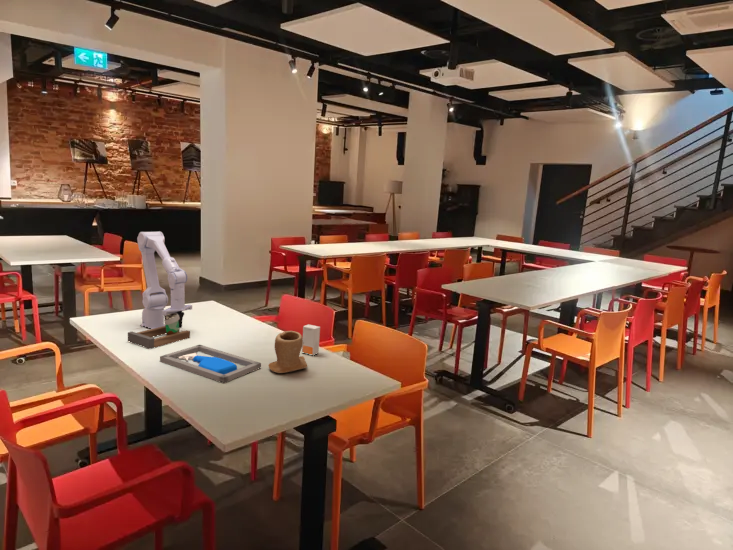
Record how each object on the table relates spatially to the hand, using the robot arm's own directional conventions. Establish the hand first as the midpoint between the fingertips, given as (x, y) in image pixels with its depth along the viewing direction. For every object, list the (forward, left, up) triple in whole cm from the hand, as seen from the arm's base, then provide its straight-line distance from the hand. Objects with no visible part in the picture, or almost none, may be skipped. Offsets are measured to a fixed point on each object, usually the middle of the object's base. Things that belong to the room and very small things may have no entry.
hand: (177, 327), depth 216 cm
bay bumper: (0, -18, -3) cm, 19 cm away
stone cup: (+64, -1, -4) cm, 64 cm away
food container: (+2, -3, -3) cm, 5 cm away
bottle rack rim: (+38, -16, -3) cm, 42 cm away
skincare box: (+59, +19, -4) cm, 62 cm away
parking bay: (0, -8, -3) cm, 9 cm away
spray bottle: (+37, -18, -4) cm, 42 cm away
